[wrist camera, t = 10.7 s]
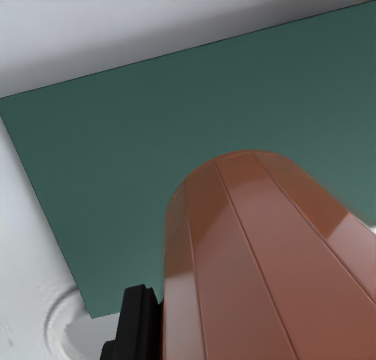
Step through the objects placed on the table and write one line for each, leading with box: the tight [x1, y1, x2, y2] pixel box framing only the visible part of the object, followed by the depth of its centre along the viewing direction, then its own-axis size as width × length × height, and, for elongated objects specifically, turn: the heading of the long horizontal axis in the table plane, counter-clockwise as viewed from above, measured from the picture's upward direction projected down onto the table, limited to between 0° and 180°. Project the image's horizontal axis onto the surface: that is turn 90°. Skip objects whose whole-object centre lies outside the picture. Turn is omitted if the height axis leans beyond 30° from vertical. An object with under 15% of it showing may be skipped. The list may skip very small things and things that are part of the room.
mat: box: [0, 0, 376, 319], centre depth 19 cm, size 20×14×1 cm
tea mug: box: [157, 149, 376, 360], centre depth 10 cm, size 10×7×9 cm
